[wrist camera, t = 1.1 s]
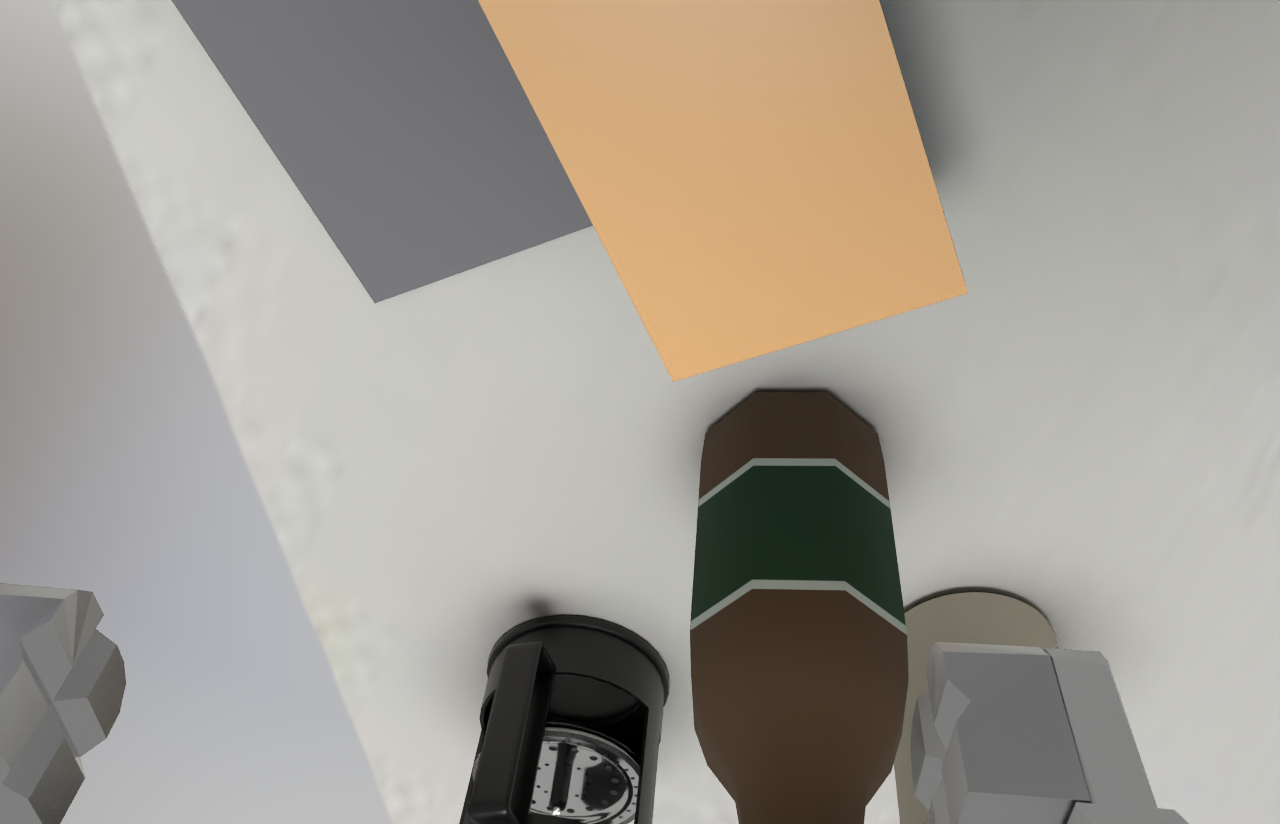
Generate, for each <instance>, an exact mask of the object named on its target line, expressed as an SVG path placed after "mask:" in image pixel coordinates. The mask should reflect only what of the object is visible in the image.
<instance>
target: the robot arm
mask: <svg viewBox="0 0 1280 824" xmlns="http://www.w3.org/2000/svg"><path fill="white" fill-rule="evenodd" d="M103 615H104V614H103V612H102V610H101V608H100V607H99V604H98V602H97V600H96V598H95V596H94V594H93V592H89V591H82V590H75V589H64V588H52V587H41V586H30V585H19V584H8V583H0V824H60V823H61V821H62V819H63V817H64V816H65V814H66V812H67V810H68V808H69V806H70V804H71V803H72V801H73V799H74V797H75V795H76V794H77V791H78V790H79V788H80V786H81V784H82V782H83V781H84V779H85V777H84V772H83V767H82V763H81V758H80V757H81V756H82V755H84V754H85V753H86V752H88V751H89V750H91V749H92V748H94V747H95V746H96V745H98V744H99V743H100V742H102V741H103V740H105V739H106V738H107V736H108V734H109V732H110V730H111V728H112V726H113V724H114V722H115V720H116V718H117V716H118V714H119V712H120V708H121V703H122V699H123V694H124V690H125V685H126V679H125V669H124V661H123V659H122V656H121V654H120V651H119V649H118V646H117V645H116V644H115V643H114V642H112V641H111V640H110V639H108V638H107V637H106V636H104V635H103V634H102V633H100V632H99V631H98V630H96V627H97V625H98V624H99V622H100V620H101V619H102V617H103ZM925 670H926V676H927V683H928V689H929V690H927V691H926V692H924V693H923V694H922V695H920V696H919V697H917V701H916V706H915V710H914V715H913V719H912V732H911V746H910V750H911V768H912V778H913V786H914V794H915V796H916V797H917V798H918V799H919V801H920V802H921V803H922V804H923V805H924V806H925V807H926V809H927V810H928V815H927V818H926V822H925V824H1189V823H1188V822H1187V821H1186V820H1185V819H1184V818H1183V817H1182V816H1181V815H1180V814H1179V813H1177V812H1176V811H1175V810H1172V809H1163V808H1157V805H1156V802H1155V799H1154V796H1153V793H1152V790H1151V787H1150V784H1149V781H1148V778H1147V775H1146V772H1145V769H1144V766H1143V764H1142V761H1141V758H1140V755H1139V752H1138V749H1137V746H1136V743H1135V740H1134V737H1133V734H1132V731H1131V728H1130V725H1129V722H1128V719H1127V716H1126V713H1125V710H1124V707H1123V704H1122V701H1121V698H1120V695H1119V692H1118V689H1117V686H1116V683H1115V681H1114V678H1113V675H1112V672H1111V669H1110V666H1109V663H1108V661H1107V659H1106V658H1105V657H1104V656H1103V655H1102V654H1101V653H1100V652H1097V651H1081V650H1065V649H1048V648H1044V649H1041V648H1040V647H1028V646H1008V645H988V644H968V643H948V642H935V643H934V645H933V646H932V648H931V649H930V652H929V655H928V659H927V663H926V666H925Z"/></svg>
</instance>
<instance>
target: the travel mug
mask: <svg viewBox="0 0 1280 824" xmlns="http://www.w3.org/2000/svg"><path fill="white" fill-rule="evenodd" d="M904 616H905V623H906V631H907V646H908V674H909V682H908V690H907V698H906V706H905V714H904V722H903V729H902V736H901V739H900V743H899V746H898V750H897V753H896V756H895V760H894V769H895V778H896V788H897V797H898V806H899V816H900V824H925V822H926V818H927V815H928V810H927V809H926V807H925V806H924V805H923V804H922V803H921V802H920V801H919V799H918V798H917V797H916V796H915V794H914V786H913V778H912V768H911V750H910V746H911V732H912V719H913V715H914V710H915V706H916V701H917V697H919V696H920V695H922V694H923V693H924V692H926V691H927V690H929V689H928V683H927V676H926V670H925V666H926V663H927V659H928V655H929V652H930V649H931V648H932V646H933V645H934V643H935V642H948V643H968V644H988V645H1008V646H1028V647H1040V648H1041V649H1044V648H1048V649H1058V647H1057V643H1056V639H1055V636H1054V632H1053V630H1052V627H1051V626H1050V624H1049V622H1048V621H1047V620H1046V618H1045V617H1044V616H1043V615H1042V614H1041V613H1040V612H1038V611H1037V610H1036V609H1034V608H1033V607H1031V606H1030V605H1028V604H1026V603H1024V602H1022V601H1020V600H1017V599H1014V598H1011V597H1008V596H1004V595H999V594H993V593H983V592H967V593H957V594H951V595H945V596H941V597H938V598H934V599H931V600H929V601H926V602H924V603H921V604H919V605H917V606H915V607H914V608H912V609H910V610H909V611H907V612H906V613H904Z"/></svg>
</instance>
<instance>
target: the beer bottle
mask: <svg viewBox="0 0 1280 824" xmlns="http://www.w3.org/2000/svg"><path fill="white" fill-rule="evenodd" d="M690 648H691V679H692V695H693V711H694V727H695V731H696V734H697V737H698V740H699V742H700V745H701V748H702V751H703V754H704V757H705V759H706V762H707V765H708V766H709V768H710V769H711V770H712V772H713V773H714V774H715V776H716V777H717V778H718V780H719V781H720V782H721V784H722V785H723V786H724V788H725V789H726V790H727V791H728V793H729V794H730V795H731V797H732V798H733V799H734V801H735V803H736V809H737V814H738V820H739V824H864V816H865V807H866V805H867V804H868V803H869V801H870V800H871V799H872V797H873V796H874V794H875V793H876V792H877V790H878V789H879V787H880V786H881V785H882V783H883V782H884V781H885V779H886V778H887V776H888V775H889V774H890V772H891V770H892V766H893V763H894V760H895V756H896V753H897V750H898V746H899V743H900V739H901V736H902V729H903V722H904V714H905V706H906V698H907V690H908V682H909V674H908V646H907V631H906V623H905V616H904V608H903V601H902V593H901V586H900V578H899V571H898V563H897V556H896V548H895V541H894V533H893V526H892V518H891V511H890V503H889V495H888V488H887V480H886V473H885V465H884V459H883V455H882V450H881V446H880V442H879V437H878V433H876V432H875V431H874V430H873V429H872V428H871V427H869V426H868V425H867V424H866V423H864V422H863V421H862V420H861V419H860V418H858V417H857V416H856V415H855V414H853V413H852V412H851V411H850V410H849V409H847V408H846V407H845V406H844V405H842V404H841V403H840V402H839V401H837V400H836V399H835V398H834V397H833V396H831V395H830V394H829V393H828V392H826V391H757V392H756V393H754V394H753V395H752V396H751V397H749V398H748V399H747V400H746V401H744V402H743V403H742V404H741V405H739V406H738V407H737V408H736V409H734V410H733V411H732V412H731V413H729V414H728V415H727V416H726V417H724V418H723V419H722V420H721V421H719V422H718V423H717V424H716V425H714V426H713V427H712V428H711V429H709V430H708V431H707V432H706V434H705V440H704V446H703V453H702V459H701V473H700V488H699V503H698V518H697V533H696V548H695V563H694V578H693V593H692V609H691V624H690Z"/></svg>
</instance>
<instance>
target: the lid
mask: <svg viewBox="0 0 1280 824" xmlns="http://www.w3.org/2000/svg"><path fill="white" fill-rule="evenodd" d="M478 1H479V3H480V5H481V7H482V9H483V11H484V13H485V15H486V17H487V19H488V21H489V23H490V25H491V27H492V29H493V31H494V33H495V35H496V37H497V38H498V40H499V42H500V44H501V46H502V48H503V50H504V52H505V54H506V56H507V58H508V60H509V62H510V64H511V66H512V68H513V70H514V72H515V74H516V76H517V78H518V80H519V81H520V83H521V85H522V87H523V89H524V91H525V93H526V95H527V97H528V99H529V101H530V103H531V105H532V107H533V109H534V111H535V113H536V115H537V117H538V119H539V121H540V123H541V124H542V126H543V128H544V130H545V132H546V134H547V136H548V138H549V140H550V142H551V144H552V146H553V148H554V150H555V152H556V154H557V156H558V158H559V160H560V162H561V164H562V165H563V167H564V169H565V171H566V173H567V175H568V177H569V179H570V181H571V183H572V185H573V187H574V189H575V191H576V193H577V195H578V197H579V199H580V201H581V203H582V205H583V207H584V208H585V210H586V212H587V214H588V216H589V218H590V220H591V222H592V224H593V226H594V228H595V230H596V232H597V234H598V236H599V238H600V240H601V242H602V244H603V246H604V248H605V250H606V251H607V253H608V255H609V257H610V259H611V261H612V263H613V265H614V267H615V269H616V271H617V273H618V275H619V277H620V279H621V281H622V283H623V285H624V287H625V289H626V291H627V293H628V294H629V296H630V298H631V300H632V302H633V304H634V306H635V308H636V310H637V312H638V314H639V316H640V318H641V320H642V322H643V324H644V326H645V328H646V330H647V332H648V334H649V335H650V337H651V339H652V341H653V343H654V345H655V347H656V349H657V351H658V353H659V355H660V357H661V359H662V361H663V363H664V365H665V367H666V369H667V371H668V373H669V375H670V377H671V378H672V380H673V382H674V381H677V380H681V379H684V378H687V377H691V376H694V375H697V374H701V373H704V372H707V371H711V370H714V369H717V368H720V367H724V366H727V365H730V364H734V363H737V362H740V361H744V360H747V359H750V358H754V357H757V356H760V355H764V354H767V353H770V352H774V351H777V350H780V349H784V348H787V347H790V346H794V345H797V344H800V343H804V342H807V341H810V340H814V339H817V338H820V337H824V336H827V335H830V334H834V333H837V332H840V331H844V330H847V329H850V328H854V327H857V326H860V325H864V324H867V323H870V322H874V321H877V320H880V319H884V318H887V317H890V316H894V315H897V314H900V313H904V312H907V311H910V310H913V309H917V308H920V307H923V306H927V305H930V304H933V303H937V302H940V301H943V300H947V299H950V298H953V297H957V296H960V295H963V294H967V293H968V292H967V288H966V284H965V281H964V277H963V274H962V271H961V267H960V264H959V261H958V258H957V254H956V251H955V248H954V244H953V241H952V238H951V234H950V231H949V228H948V225H947V221H946V218H945V215H944V211H943V208H942V205H941V201H940V198H939V195H938V192H937V188H936V185H935V182H934V178H933V175H932V172H931V168H930V165H929V162H928V159H927V155H926V152H925V149H924V145H923V142H922V139H921V135H920V132H919V129H918V126H917V122H916V119H915V116H914V112H913V109H912V106H911V103H910V99H909V96H908V93H907V89H906V86H905V83H904V79H903V76H902V73H901V70H900V66H899V63H898V60H897V56H896V53H895V50H894V46H893V43H892V40H891V37H890V33H889V30H888V27H887V23H886V20H885V17H884V13H883V10H882V7H881V4H880V0H478Z"/></svg>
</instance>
